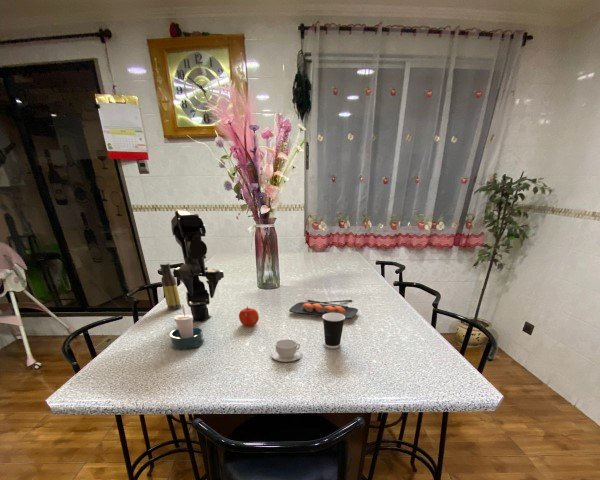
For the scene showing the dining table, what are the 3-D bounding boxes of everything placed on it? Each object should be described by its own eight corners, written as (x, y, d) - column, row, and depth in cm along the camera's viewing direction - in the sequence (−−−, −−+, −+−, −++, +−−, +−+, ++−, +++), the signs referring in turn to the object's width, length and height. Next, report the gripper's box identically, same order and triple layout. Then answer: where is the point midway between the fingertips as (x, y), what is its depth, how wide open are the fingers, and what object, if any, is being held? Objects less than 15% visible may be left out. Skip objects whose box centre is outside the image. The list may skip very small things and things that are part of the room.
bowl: (165, 347, 129) (163, 335, 127) (185, 336, 138) (182, 325, 135) (191, 352, 125) (189, 340, 123) (209, 340, 134) (208, 329, 132)
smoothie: (200, 342, 131) (194, 304, 124) (185, 347, 128) (177, 308, 120) (191, 337, 135) (184, 300, 128) (175, 342, 131) (168, 304, 124)
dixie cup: (318, 348, 127) (319, 318, 122) (325, 340, 134) (326, 311, 128) (339, 351, 125) (341, 321, 119) (346, 343, 131) (348, 314, 125)
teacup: (279, 365, 116) (278, 352, 114) (267, 353, 124) (266, 341, 121) (306, 359, 120) (306, 346, 118) (293, 348, 128) (292, 335, 125)
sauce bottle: (178, 304, 171) (169, 261, 161) (183, 308, 167) (175, 263, 157) (165, 307, 168) (155, 263, 157) (170, 311, 164) (161, 265, 153)
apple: (256, 329, 144) (254, 309, 139) (237, 328, 145) (235, 308, 141) (261, 322, 150) (260, 303, 146) (243, 321, 152) (241, 302, 147)
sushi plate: (286, 315, 158) (286, 306, 156) (310, 296, 182) (310, 289, 180) (350, 323, 149) (351, 314, 147) (367, 302, 172) (368, 294, 170)
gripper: (158, 255, 125) (168, 300, 134) (203, 258, 119) (210, 305, 128) (179, 250, 134) (186, 292, 142) (221, 253, 128) (227, 296, 136)
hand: (201, 296), depth 137 cm, fingers open, 9 cm apart
